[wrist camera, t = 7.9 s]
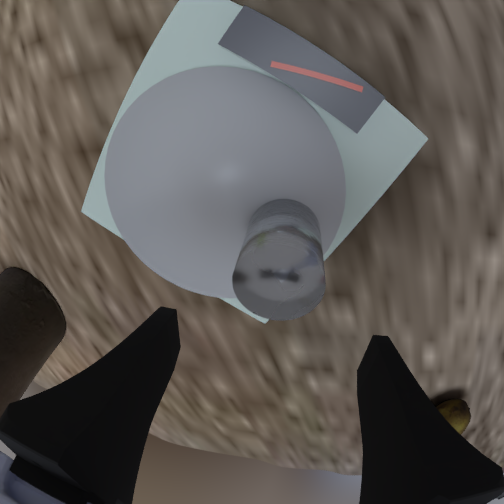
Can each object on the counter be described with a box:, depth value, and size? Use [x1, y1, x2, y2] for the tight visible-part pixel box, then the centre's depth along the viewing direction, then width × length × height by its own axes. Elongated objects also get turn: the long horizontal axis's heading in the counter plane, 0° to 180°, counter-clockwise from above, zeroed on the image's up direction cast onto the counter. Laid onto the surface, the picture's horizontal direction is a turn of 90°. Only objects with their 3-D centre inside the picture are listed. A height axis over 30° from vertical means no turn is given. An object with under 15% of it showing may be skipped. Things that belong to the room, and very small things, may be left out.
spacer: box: [232, 199, 326, 320], centre depth 16 cm, size 4×4×5 cm
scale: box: [81, 0, 428, 323], centre depth 17 cm, size 16×15×2 cm
